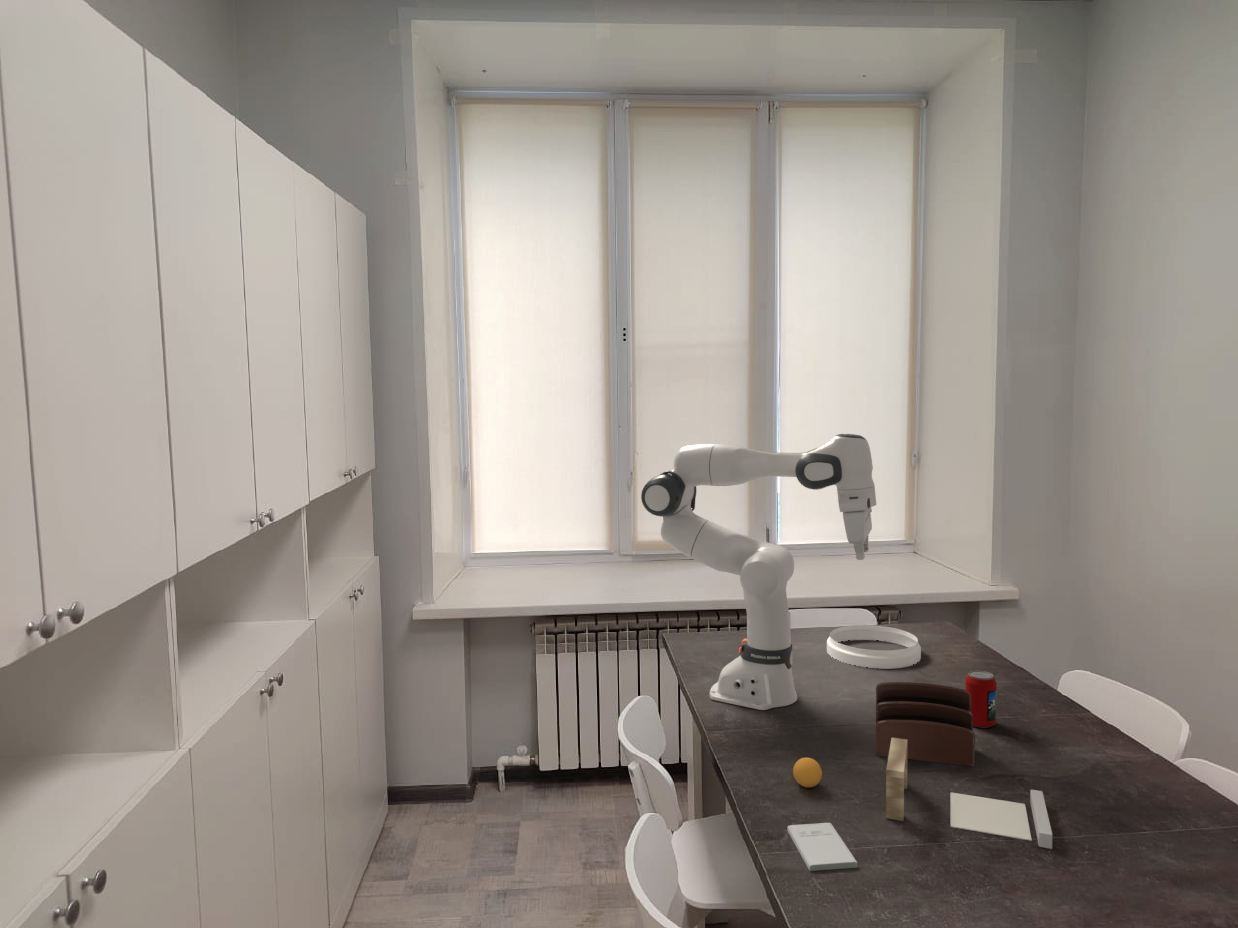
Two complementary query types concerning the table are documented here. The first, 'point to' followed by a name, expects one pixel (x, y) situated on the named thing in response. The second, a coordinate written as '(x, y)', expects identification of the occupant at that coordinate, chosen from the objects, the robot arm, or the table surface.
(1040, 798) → the stopper
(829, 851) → the external hard drive
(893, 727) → the letter holder
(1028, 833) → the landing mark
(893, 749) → the bridge
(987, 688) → the beverage can
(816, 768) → the ball
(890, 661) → the white ring
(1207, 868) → the table surface
